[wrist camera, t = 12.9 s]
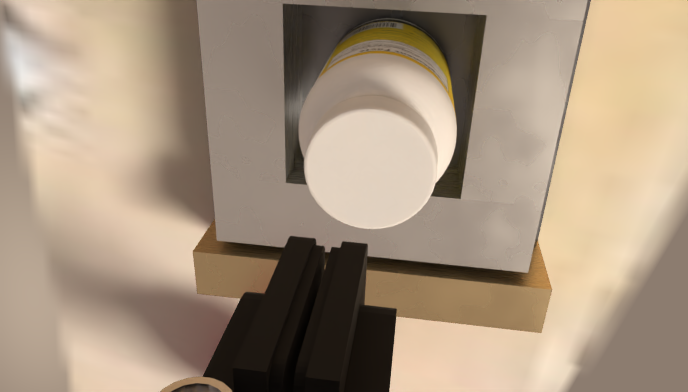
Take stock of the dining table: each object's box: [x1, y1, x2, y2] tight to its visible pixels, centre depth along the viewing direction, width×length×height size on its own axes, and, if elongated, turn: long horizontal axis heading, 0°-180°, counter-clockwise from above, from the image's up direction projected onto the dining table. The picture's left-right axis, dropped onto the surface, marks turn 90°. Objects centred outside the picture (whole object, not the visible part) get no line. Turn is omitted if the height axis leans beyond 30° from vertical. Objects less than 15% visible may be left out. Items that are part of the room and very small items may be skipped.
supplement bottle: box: [299, 18, 457, 229], centre depth 21 cm, size 5×5×10 cm
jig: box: [193, 0, 591, 333], centre depth 24 cm, size 20×16×5 cm
